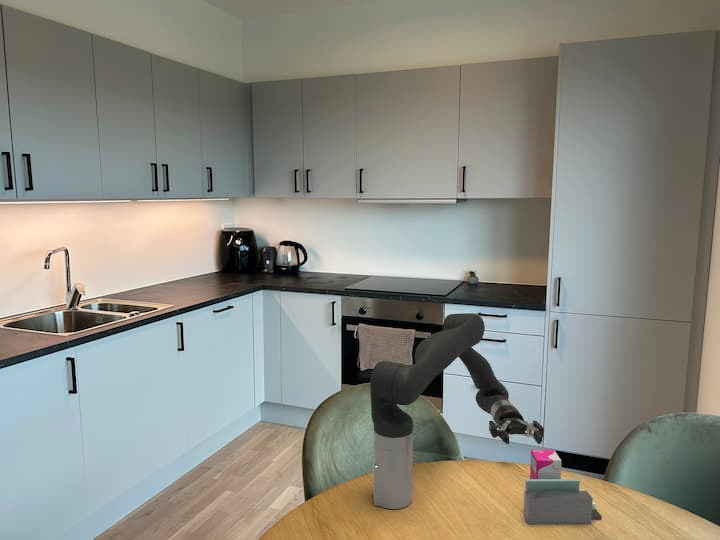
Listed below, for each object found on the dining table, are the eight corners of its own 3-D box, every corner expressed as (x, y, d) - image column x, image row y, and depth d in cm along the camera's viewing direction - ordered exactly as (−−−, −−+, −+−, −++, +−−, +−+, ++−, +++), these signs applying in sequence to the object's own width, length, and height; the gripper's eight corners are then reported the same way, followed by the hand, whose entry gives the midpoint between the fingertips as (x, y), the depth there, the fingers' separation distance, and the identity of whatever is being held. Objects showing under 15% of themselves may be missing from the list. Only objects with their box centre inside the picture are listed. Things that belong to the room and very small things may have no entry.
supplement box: (553, 494, 128) (555, 449, 127) (560, 507, 122) (562, 460, 121) (528, 493, 129) (530, 448, 127) (534, 506, 123) (536, 459, 121)
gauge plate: (525, 510, 120) (527, 481, 119) (524, 507, 121) (525, 479, 120) (595, 509, 121) (597, 481, 120) (593, 507, 122) (595, 478, 121)
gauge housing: (528, 524, 116) (529, 498, 115) (513, 498, 126) (514, 474, 126) (604, 523, 116) (606, 498, 115) (583, 497, 127) (585, 474, 126)
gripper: (482, 404, 156) (497, 427, 140) (530, 404, 156) (551, 427, 140) (482, 428, 157) (497, 454, 141) (529, 428, 157) (550, 453, 141)
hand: (524, 440), depth 140 cm, fingers open, 8 cm apart
